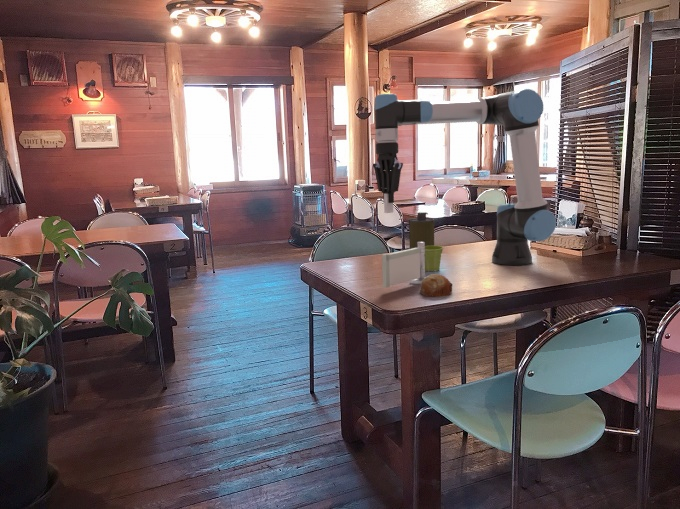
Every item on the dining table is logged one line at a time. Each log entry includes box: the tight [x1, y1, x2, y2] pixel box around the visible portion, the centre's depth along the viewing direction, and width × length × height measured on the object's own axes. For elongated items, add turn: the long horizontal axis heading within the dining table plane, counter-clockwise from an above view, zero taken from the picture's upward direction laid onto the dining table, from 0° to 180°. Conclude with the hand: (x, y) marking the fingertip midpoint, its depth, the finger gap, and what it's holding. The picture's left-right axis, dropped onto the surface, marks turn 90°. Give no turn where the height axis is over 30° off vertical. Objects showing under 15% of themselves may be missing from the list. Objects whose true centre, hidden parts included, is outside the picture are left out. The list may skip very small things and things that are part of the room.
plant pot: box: [425, 245, 444, 272], centre depth 211 cm, size 9×9×9 cm
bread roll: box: [419, 273, 453, 298], centre depth 176 cm, size 10×10×8 cm
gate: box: [381, 248, 420, 288], centre depth 184 cm, size 17×2×11 cm, turn 133°
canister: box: [408, 211, 436, 249], centre depth 227 cm, size 11×10×20 cm
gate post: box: [409, 242, 427, 286], centre depth 191 cm, size 6×6×14 cm
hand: (388, 212), depth 190 cm, fingers closed
